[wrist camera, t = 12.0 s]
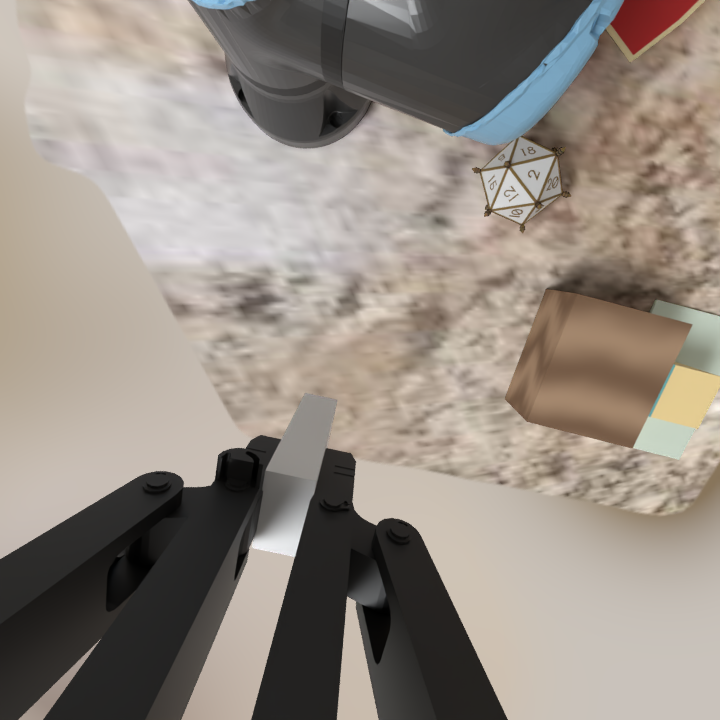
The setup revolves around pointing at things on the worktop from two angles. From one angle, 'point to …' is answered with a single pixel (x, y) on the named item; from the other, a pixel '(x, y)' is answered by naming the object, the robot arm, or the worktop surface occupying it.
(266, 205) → the worktop surface
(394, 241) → the worktop surface
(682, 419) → the ochre block
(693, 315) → the mat
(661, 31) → the milk carton
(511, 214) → the game die
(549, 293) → the step
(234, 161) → the worktop surface
